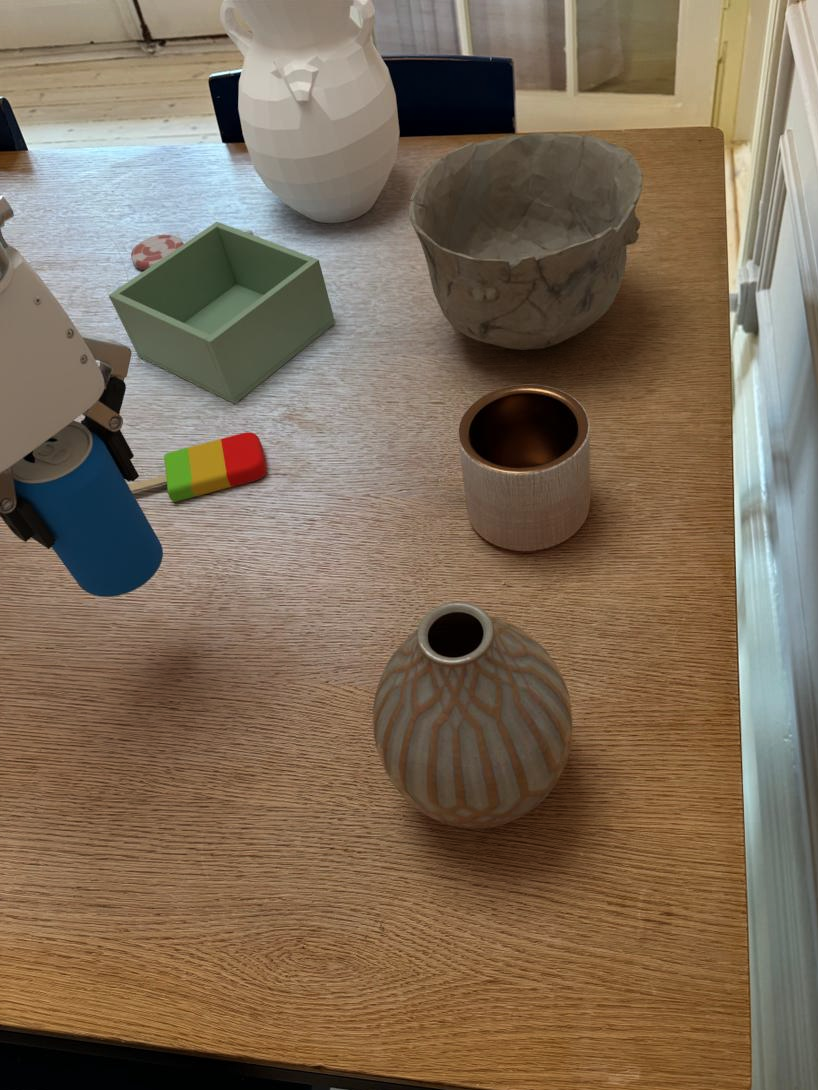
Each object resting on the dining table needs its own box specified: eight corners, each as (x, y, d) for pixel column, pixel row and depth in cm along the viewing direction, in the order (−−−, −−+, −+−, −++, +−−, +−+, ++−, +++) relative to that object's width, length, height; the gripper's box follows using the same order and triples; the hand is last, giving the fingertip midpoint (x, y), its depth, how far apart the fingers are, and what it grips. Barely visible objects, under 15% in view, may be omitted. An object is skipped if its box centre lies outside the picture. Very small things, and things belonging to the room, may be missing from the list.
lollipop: (253, 242, 106) (129, 268, 105) (255, 251, 107) (133, 276, 106) (249, 215, 110) (130, 239, 109) (252, 223, 111) (133, 248, 110)
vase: (380, 717, 68) (326, 572, 53) (545, 676, 68) (536, 522, 54) (411, 878, 60) (358, 759, 46) (596, 830, 61) (601, 698, 46)
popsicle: (270, 478, 84) (264, 464, 82) (113, 521, 83) (104, 507, 81) (262, 441, 87) (256, 427, 86) (111, 482, 86) (103, 467, 84)
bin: (138, 356, 97) (108, 295, 91) (238, 283, 104) (216, 221, 97) (235, 404, 91) (210, 341, 85) (335, 323, 97) (319, 259, 91)
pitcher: (427, 166, 115) (395, -69, 95) (388, 246, 105) (341, 2, 85) (295, 163, 119) (236, -64, 99) (245, 239, 109) (167, 5, 89)
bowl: (449, 413, 87) (428, 274, 75) (413, 289, 100) (390, 153, 87) (664, 367, 88) (678, 223, 76) (602, 250, 101) (605, 110, 88)
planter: (571, 455, 82) (570, 370, 74) (605, 540, 76) (608, 457, 68) (457, 481, 81) (444, 398, 74) (482, 568, 75) (471, 488, 67)
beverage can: (117, 526, 68) (43, 404, 58) (184, 550, 66) (118, 429, 56) (61, 587, 65) (-27, 469, 55) (130, 614, 63) (50, 497, 53)
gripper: (20, 166, 50) (142, 411, 65) (-269, 329, 43) (-58, 563, 58) (103, 201, 47) (211, 449, 62) (-191, 382, 40) (10, 614, 55)
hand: (81, 502), depth 60 cm, fingers closed on beverage can, 6 cm apart
